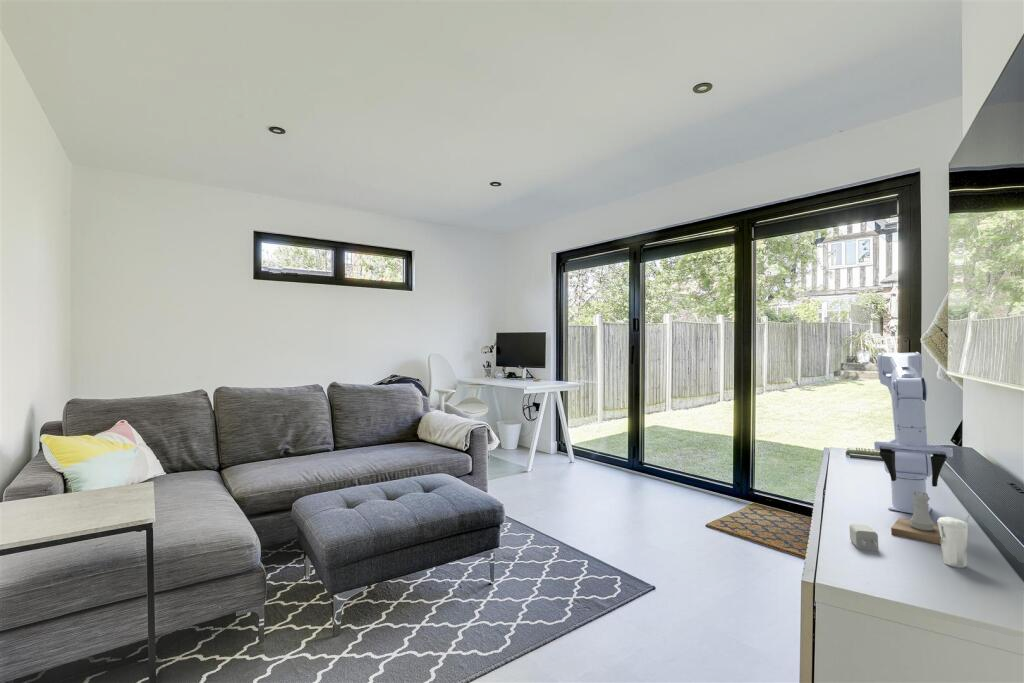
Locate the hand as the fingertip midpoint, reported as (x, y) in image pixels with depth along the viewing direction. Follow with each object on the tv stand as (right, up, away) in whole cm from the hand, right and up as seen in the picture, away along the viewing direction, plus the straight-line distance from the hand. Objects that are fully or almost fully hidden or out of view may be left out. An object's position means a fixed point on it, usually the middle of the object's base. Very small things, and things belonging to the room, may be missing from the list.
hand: (913, 483), depth 115 cm
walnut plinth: (-3, -10, -6) cm, 12 cm away
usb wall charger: (-21, -11, -13) cm, 27 cm away
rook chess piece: (-3, -9, -6) cm, 11 cm away
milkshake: (-10, -10, -22) cm, 26 cm away
